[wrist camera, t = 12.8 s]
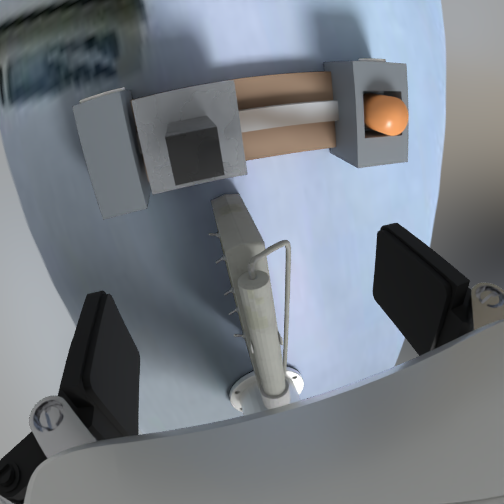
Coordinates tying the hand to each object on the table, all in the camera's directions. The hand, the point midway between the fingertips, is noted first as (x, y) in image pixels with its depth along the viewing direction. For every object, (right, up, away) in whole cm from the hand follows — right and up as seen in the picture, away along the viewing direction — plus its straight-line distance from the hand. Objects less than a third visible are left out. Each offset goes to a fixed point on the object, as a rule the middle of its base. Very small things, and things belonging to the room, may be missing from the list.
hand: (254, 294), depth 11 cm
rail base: (0, +14, +19) cm, 24 cm away
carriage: (-5, +12, +16) cm, 20 cm away
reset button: (+11, +15, +17) cm, 26 cm away
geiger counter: (0, -3, +29) cm, 29 cm away
